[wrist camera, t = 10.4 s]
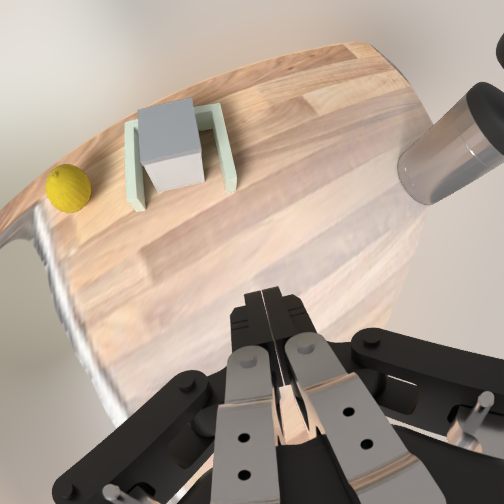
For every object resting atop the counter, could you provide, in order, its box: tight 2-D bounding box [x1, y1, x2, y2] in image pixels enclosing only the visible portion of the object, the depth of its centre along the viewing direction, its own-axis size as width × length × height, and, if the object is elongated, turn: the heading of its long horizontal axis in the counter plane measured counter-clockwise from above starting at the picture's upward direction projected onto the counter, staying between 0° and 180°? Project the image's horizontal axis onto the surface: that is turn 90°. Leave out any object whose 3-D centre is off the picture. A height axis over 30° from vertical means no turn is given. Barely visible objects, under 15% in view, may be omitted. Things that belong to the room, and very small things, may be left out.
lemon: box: [46, 164, 91, 213], centre depth 28 cm, size 6×6×8 cm
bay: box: [125, 103, 237, 212], centre depth 32 cm, size 12×11×4 cm
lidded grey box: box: [138, 98, 205, 193], centre depth 30 cm, size 6×7×8 cm
